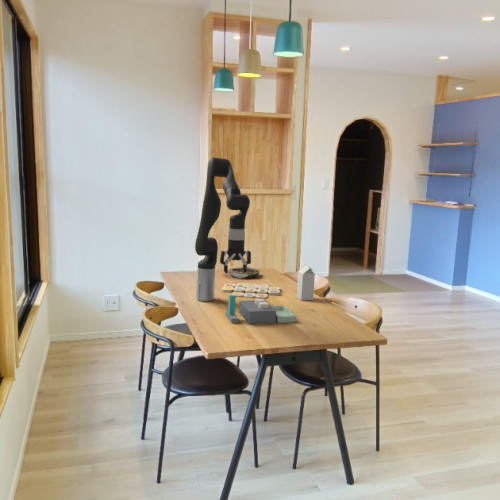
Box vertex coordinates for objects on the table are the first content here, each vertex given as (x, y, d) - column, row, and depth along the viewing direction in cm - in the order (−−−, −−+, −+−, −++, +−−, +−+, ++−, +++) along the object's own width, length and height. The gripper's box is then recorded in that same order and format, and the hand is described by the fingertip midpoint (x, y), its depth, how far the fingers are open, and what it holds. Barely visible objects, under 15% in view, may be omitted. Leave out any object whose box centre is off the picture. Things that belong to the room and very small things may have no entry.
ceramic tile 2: (256, 305, 235) (257, 300, 235) (254, 302, 239) (254, 298, 238) (264, 304, 236) (265, 300, 236) (262, 302, 240) (262, 298, 240)
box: (277, 322, 228) (278, 316, 228) (266, 311, 246) (266, 305, 245) (295, 322, 231) (296, 316, 230) (283, 311, 248) (283, 305, 248)
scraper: (231, 323, 225) (232, 299, 223) (225, 314, 238) (225, 291, 236) (237, 323, 225) (239, 299, 224) (231, 314, 239) (231, 291, 237)
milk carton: (301, 300, 269) (303, 266, 266) (296, 297, 276) (298, 264, 273) (313, 300, 271) (315, 266, 268) (308, 297, 278) (310, 264, 274)
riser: (248, 324, 225) (249, 311, 224) (239, 312, 242) (239, 300, 241) (275, 323, 228) (276, 310, 227) (264, 311, 245) (264, 300, 244)
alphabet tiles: (280, 286, 301) (281, 282, 301) (278, 300, 269) (279, 296, 269) (227, 283, 304) (227, 279, 304) (218, 296, 272) (218, 292, 272)
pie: (272, 277, 325) (273, 270, 324) (242, 283, 306) (243, 276, 305) (243, 270, 344) (243, 263, 343) (213, 275, 325) (213, 268, 324)
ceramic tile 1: (260, 308, 229) (260, 304, 229) (257, 306, 233) (258, 302, 233) (268, 308, 230) (268, 304, 230) (266, 305, 234) (266, 301, 234)
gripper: (249, 237, 231) (247, 271, 234) (219, 237, 227) (218, 271, 229) (253, 239, 224) (252, 274, 227) (223, 239, 220) (222, 274, 222)
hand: (235, 272), depth 228 cm, fingers open, 8 cm apart
